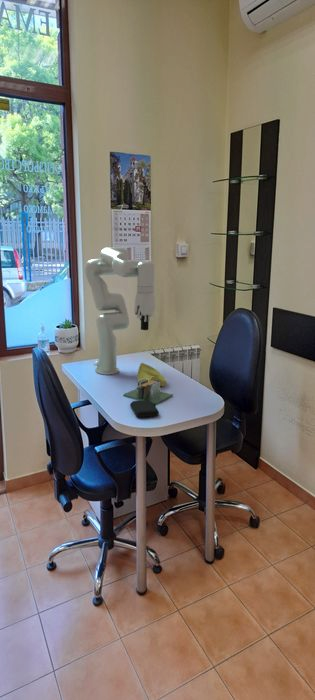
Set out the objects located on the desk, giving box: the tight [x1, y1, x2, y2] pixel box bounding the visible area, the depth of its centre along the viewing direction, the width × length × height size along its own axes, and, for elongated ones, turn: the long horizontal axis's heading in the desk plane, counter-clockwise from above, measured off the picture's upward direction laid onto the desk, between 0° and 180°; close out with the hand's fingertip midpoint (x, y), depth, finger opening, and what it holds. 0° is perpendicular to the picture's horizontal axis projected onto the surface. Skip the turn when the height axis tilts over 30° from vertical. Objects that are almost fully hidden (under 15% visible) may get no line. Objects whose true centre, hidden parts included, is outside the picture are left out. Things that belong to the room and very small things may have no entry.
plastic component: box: [137, 362, 167, 387], centre depth 225 cm, size 20×7×10 cm
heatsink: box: [122, 379, 174, 406], centre depth 204 cm, size 18×15×7 cm
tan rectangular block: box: [140, 380, 156, 396], centre depth 203 cm, size 2×9×4 cm, turn 146°
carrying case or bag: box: [129, 400, 160, 419], centre depth 186 cm, size 11×3×15 cm
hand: (144, 329), depth 206 cm, fingers closed
